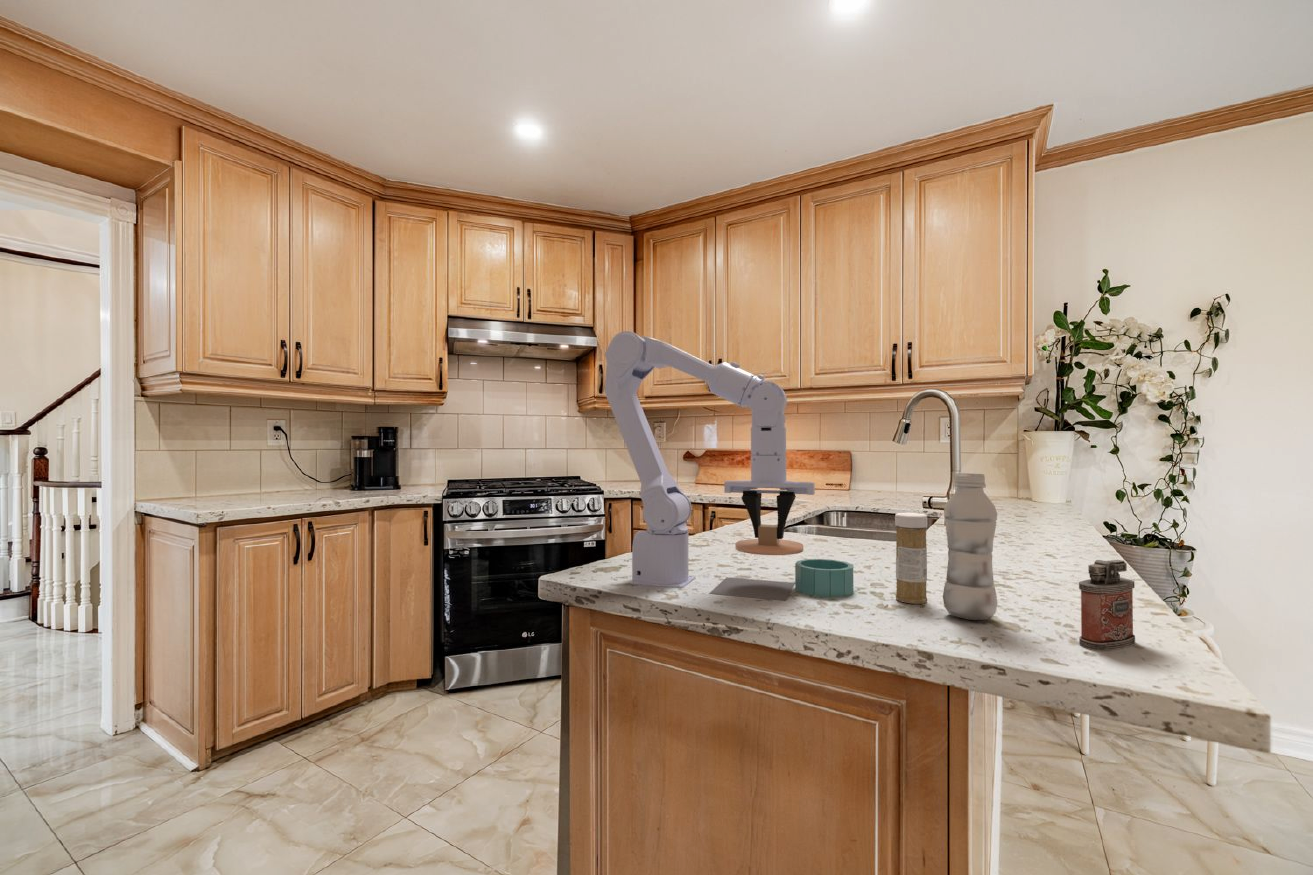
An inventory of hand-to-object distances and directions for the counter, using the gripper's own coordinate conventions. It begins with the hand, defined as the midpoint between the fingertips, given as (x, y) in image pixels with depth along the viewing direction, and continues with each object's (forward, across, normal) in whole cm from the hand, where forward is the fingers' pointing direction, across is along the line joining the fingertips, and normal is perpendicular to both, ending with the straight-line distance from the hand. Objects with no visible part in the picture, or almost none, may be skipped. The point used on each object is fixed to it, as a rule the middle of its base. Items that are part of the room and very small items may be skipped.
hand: (769, 537), depth 96 cm
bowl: (+9, +8, +2) cm, 12 cm away
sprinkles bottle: (+9, +22, +1) cm, 23 cm away
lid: (+2, 0, 0) cm, 2 cm away
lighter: (+9, +42, -11) cm, 45 cm away
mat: (+9, -2, -1) cm, 9 cm away
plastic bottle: (+9, +28, -6) cm, 30 cm away
